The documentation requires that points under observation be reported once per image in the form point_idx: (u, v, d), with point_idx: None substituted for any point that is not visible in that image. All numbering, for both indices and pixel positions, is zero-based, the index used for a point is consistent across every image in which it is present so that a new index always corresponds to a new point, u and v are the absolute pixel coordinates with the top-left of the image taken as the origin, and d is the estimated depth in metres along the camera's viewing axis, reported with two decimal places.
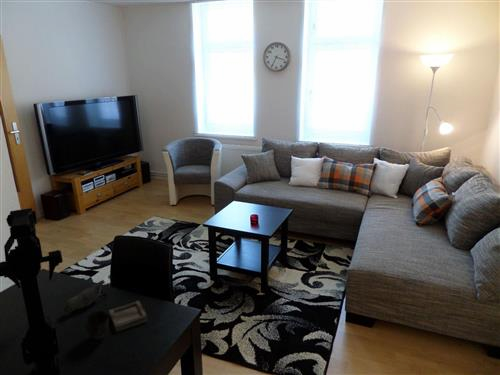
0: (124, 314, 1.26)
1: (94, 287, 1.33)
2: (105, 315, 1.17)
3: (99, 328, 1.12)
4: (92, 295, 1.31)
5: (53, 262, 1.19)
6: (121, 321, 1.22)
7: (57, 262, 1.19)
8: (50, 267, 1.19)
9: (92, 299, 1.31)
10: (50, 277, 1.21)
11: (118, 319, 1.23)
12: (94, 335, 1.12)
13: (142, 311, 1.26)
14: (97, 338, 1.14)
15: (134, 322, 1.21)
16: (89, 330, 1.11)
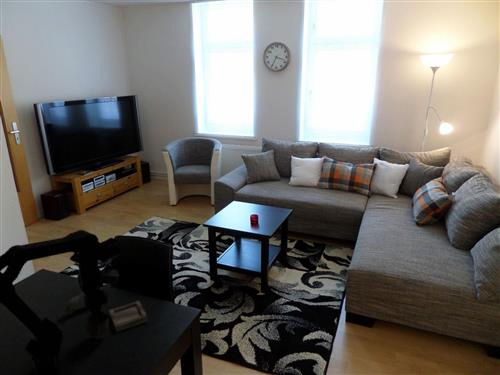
0: (124, 314, 1.26)
1: None
2: (105, 315, 1.17)
3: (99, 328, 1.12)
4: None
5: None
6: (121, 321, 1.22)
7: (85, 305, 1.03)
8: None
9: None
10: (93, 314, 1.08)
11: (118, 319, 1.23)
12: (94, 335, 1.12)
13: (142, 311, 1.26)
14: (97, 338, 1.14)
15: (134, 322, 1.21)
16: (89, 330, 1.11)
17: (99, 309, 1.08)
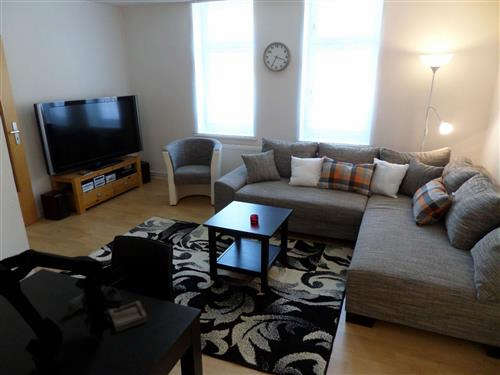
0: (124, 314, 1.26)
1: None
2: None
3: None
4: None
5: None
6: (121, 321, 1.22)
7: (89, 330, 1.05)
8: None
9: None
10: (96, 336, 1.11)
11: (118, 319, 1.23)
12: (94, 335, 1.12)
13: (142, 311, 1.26)
14: (97, 338, 1.14)
15: (134, 322, 1.21)
16: None
17: (102, 331, 1.11)
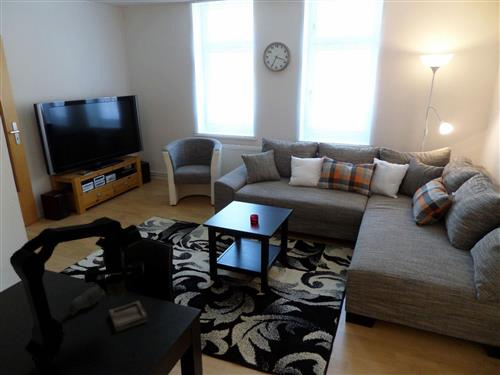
0: (124, 314, 1.26)
1: (98, 286, 1.33)
2: (112, 276, 1.20)
3: (126, 281, 1.19)
4: (97, 294, 1.31)
5: (134, 274, 1.16)
6: (121, 321, 1.22)
7: (138, 275, 1.16)
8: (127, 279, 1.16)
9: (97, 298, 1.31)
10: (127, 288, 1.19)
11: (118, 319, 1.23)
12: (125, 290, 1.18)
13: (142, 311, 1.26)
14: (122, 295, 1.19)
15: (134, 322, 1.21)
16: (122, 287, 1.16)
17: None
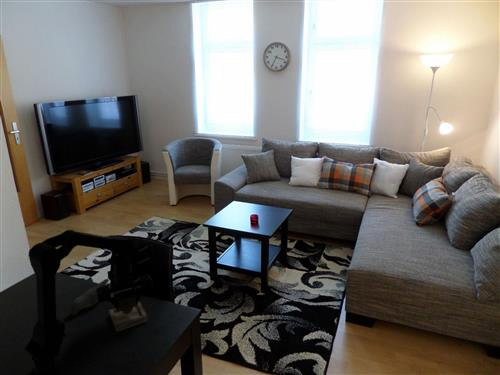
0: (124, 314, 1.26)
1: (99, 286, 1.34)
2: (119, 293, 1.24)
3: None
4: None
5: (145, 287, 1.23)
6: (121, 321, 1.22)
7: (149, 287, 1.24)
8: (139, 293, 1.22)
9: None
10: (137, 302, 1.25)
11: (118, 319, 1.23)
12: (135, 303, 1.24)
13: (142, 311, 1.26)
14: (132, 309, 1.25)
15: (134, 322, 1.21)
16: (133, 301, 1.22)
17: None
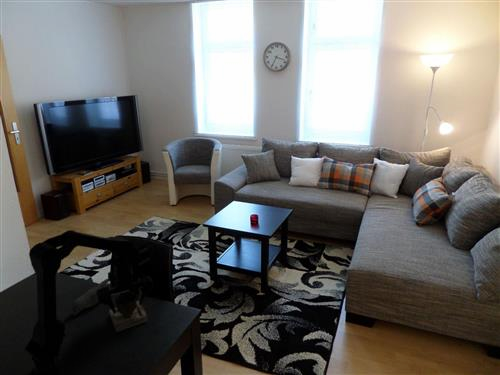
0: None
1: (100, 286, 1.34)
2: (120, 297, 1.25)
3: None
4: None
5: (146, 288, 1.23)
6: (121, 321, 1.22)
7: (149, 288, 1.24)
8: (143, 293, 1.23)
9: None
10: (141, 302, 1.26)
11: (118, 319, 1.23)
12: (135, 307, 1.25)
13: (142, 311, 1.26)
14: (132, 312, 1.25)
15: (134, 322, 1.21)
16: (134, 305, 1.23)
17: None
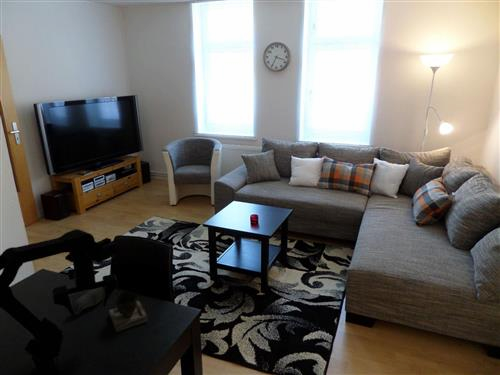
0: None
1: None
2: (120, 297, 1.25)
3: None
4: (100, 293, 1.32)
5: (109, 288, 1.10)
6: (121, 321, 1.22)
7: (113, 288, 1.11)
8: (106, 293, 1.10)
9: (100, 297, 1.32)
10: (104, 303, 1.13)
11: (118, 319, 1.23)
12: (135, 307, 1.25)
13: (142, 311, 1.26)
14: (132, 312, 1.25)
15: (134, 322, 1.21)
16: (134, 305, 1.23)
17: None
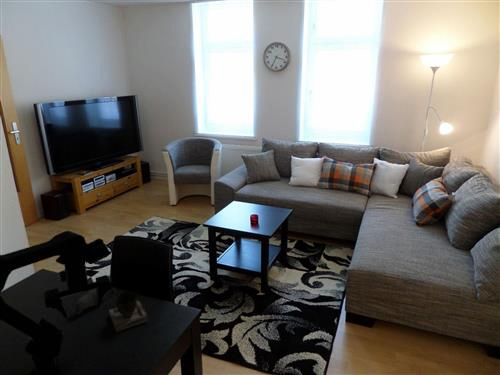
0: None
1: None
2: (120, 297, 1.25)
3: None
4: None
5: (102, 289, 1.08)
6: (121, 321, 1.22)
7: (106, 289, 1.09)
8: (99, 295, 1.08)
9: None
10: (98, 305, 1.11)
11: (118, 319, 1.23)
12: (135, 307, 1.25)
13: (142, 311, 1.26)
14: (132, 312, 1.25)
15: (134, 322, 1.21)
16: (134, 305, 1.23)
17: None
